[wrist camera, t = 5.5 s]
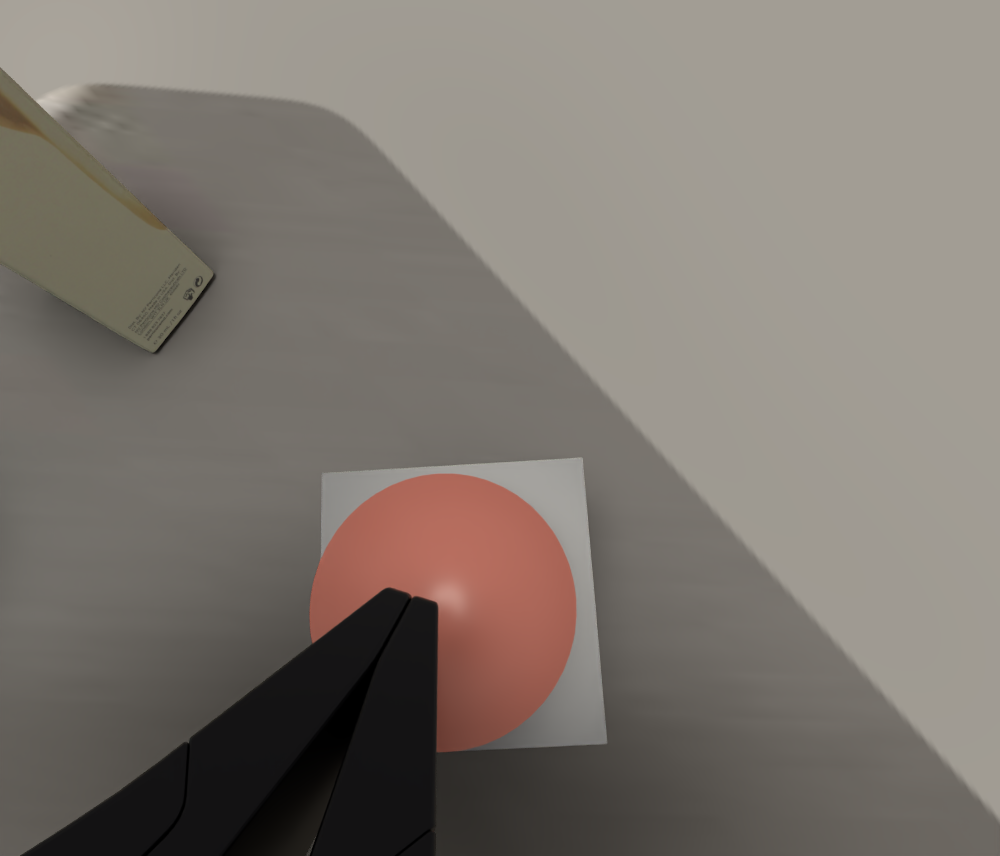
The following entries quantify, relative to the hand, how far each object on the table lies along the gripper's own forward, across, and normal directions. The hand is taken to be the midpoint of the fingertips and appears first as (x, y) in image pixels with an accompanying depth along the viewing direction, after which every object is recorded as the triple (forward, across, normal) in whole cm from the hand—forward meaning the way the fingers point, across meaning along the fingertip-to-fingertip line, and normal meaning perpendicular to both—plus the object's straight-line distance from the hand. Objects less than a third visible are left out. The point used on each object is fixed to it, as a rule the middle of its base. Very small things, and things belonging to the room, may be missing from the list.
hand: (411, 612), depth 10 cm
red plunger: (+8, 0, +8) cm, 11 cm away
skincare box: (+15, +18, +4) cm, 24 cm away
